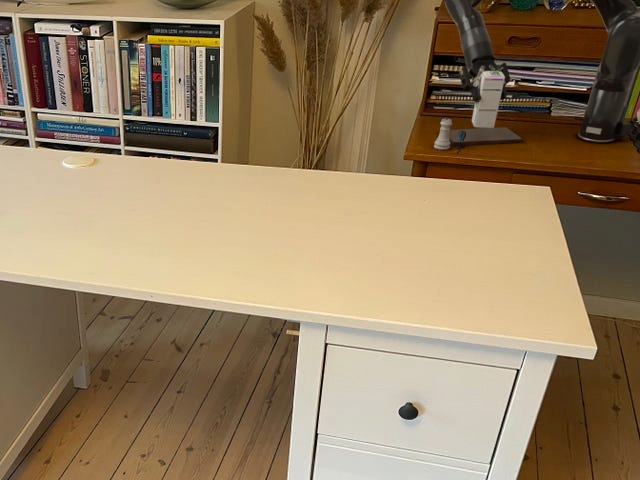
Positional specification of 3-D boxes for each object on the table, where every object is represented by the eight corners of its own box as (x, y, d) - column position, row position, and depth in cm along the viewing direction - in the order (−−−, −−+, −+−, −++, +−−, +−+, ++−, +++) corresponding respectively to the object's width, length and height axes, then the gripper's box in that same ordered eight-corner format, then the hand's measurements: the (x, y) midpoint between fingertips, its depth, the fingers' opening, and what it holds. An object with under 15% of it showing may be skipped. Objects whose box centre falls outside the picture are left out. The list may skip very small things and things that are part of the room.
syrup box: (494, 128, 212) (506, 76, 204) (472, 127, 213) (484, 75, 205) (491, 122, 217) (503, 70, 208) (470, 121, 218) (481, 70, 209)
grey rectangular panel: (505, 130, 222) (505, 127, 221) (521, 142, 213) (522, 138, 212) (439, 133, 221) (440, 130, 221) (453, 145, 212) (454, 142, 212)
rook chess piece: (430, 147, 211) (435, 119, 207) (440, 144, 213) (445, 116, 209) (443, 151, 208) (448, 123, 204) (453, 148, 210) (458, 120, 206)
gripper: (461, 41, 207) (475, 95, 205) (506, 38, 210) (521, 90, 207) (447, 57, 214) (461, 109, 212) (491, 53, 217) (505, 104, 214)
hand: (491, 99), depth 209 cm, fingers closed on syrup box, 7 cm apart
